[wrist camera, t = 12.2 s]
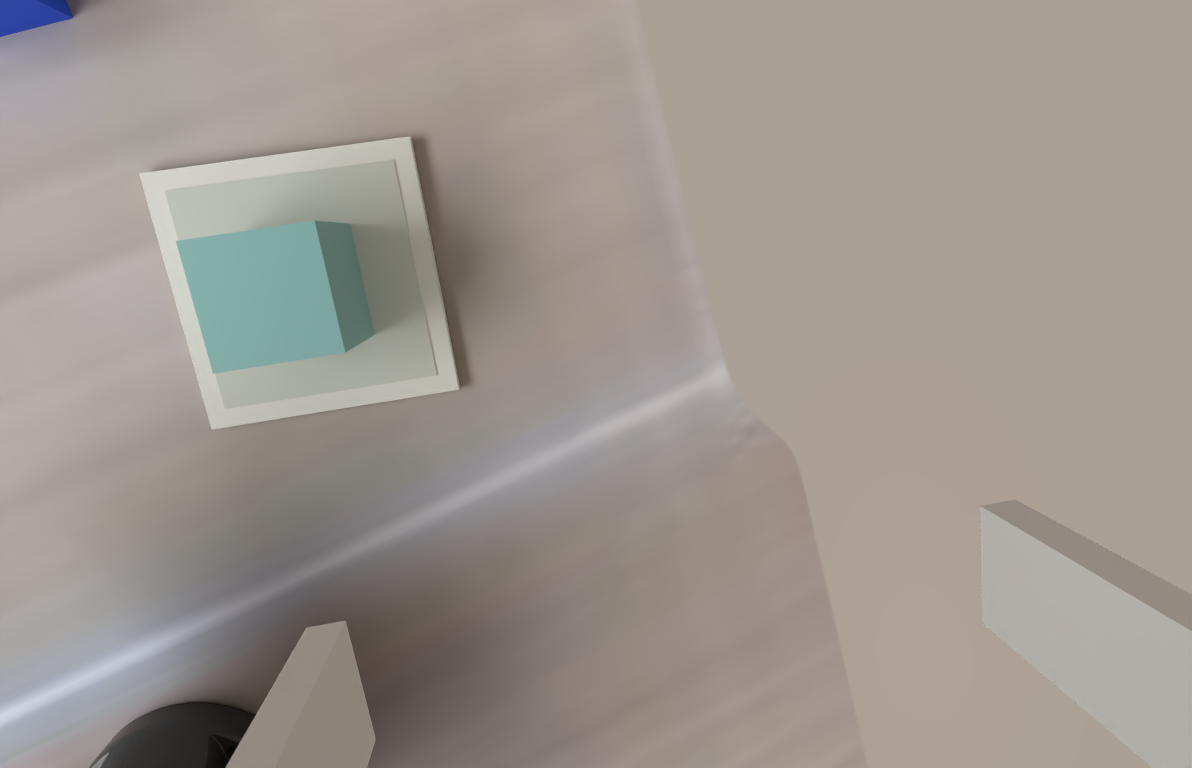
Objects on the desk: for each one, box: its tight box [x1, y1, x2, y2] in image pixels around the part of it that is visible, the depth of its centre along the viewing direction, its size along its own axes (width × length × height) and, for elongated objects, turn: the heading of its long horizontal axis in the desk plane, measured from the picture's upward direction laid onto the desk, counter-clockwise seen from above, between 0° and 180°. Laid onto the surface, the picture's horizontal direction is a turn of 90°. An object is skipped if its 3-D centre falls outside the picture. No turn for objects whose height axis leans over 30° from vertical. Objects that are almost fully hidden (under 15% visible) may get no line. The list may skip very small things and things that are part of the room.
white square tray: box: [139, 136, 460, 429], centre depth 43 cm, size 16×16×1 cm
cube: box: [176, 221, 375, 374], centre depth 39 cm, size 7×7×7 cm
